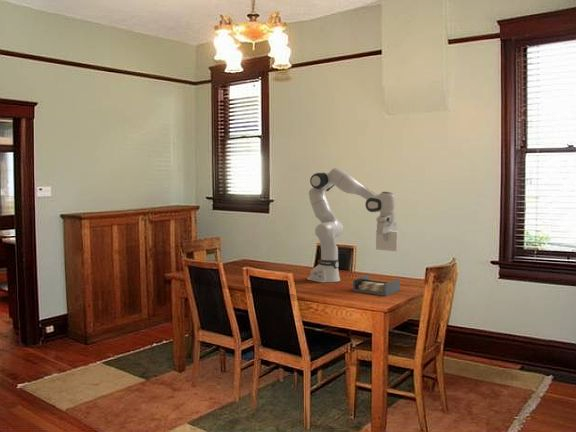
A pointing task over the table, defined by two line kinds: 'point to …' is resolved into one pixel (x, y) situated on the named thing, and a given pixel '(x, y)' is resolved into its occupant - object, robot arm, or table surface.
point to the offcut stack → (372, 286)
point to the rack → (388, 286)
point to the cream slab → (388, 241)
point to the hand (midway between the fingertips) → (387, 240)
